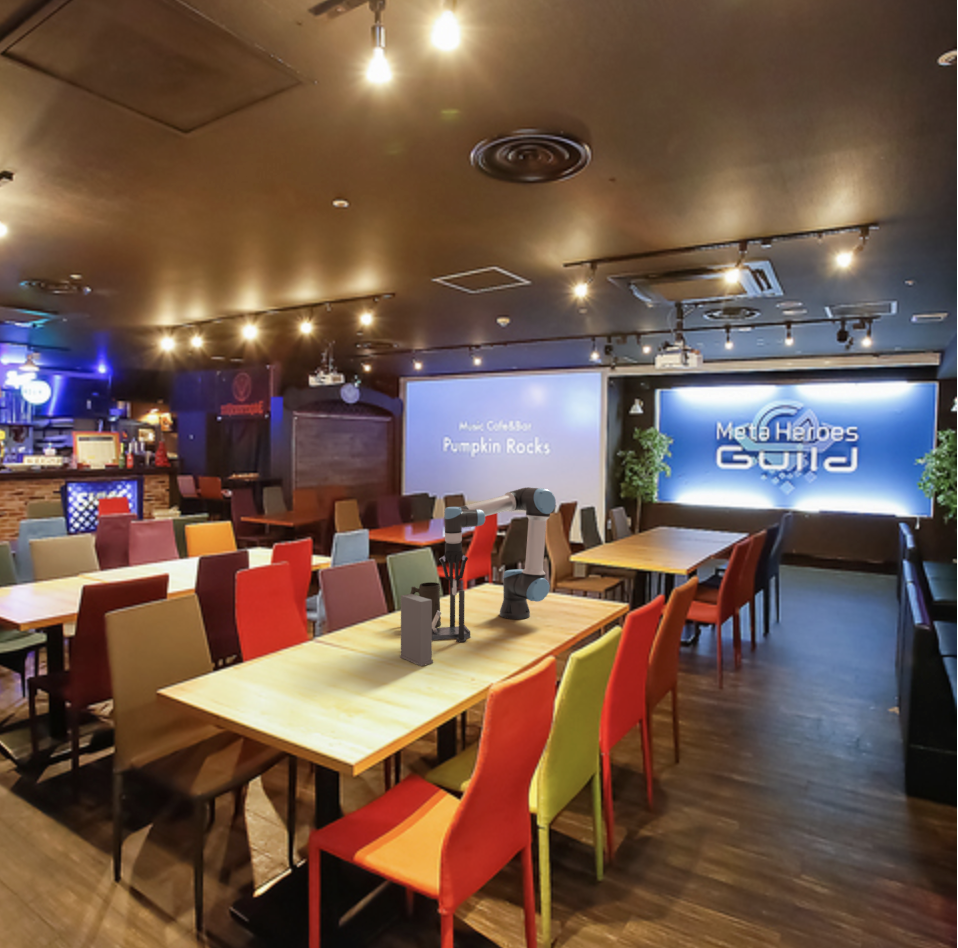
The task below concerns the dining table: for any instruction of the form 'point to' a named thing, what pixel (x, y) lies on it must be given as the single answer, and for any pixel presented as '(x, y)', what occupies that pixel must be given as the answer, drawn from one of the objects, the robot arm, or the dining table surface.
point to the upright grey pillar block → (416, 629)
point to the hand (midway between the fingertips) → (454, 594)
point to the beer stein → (430, 596)
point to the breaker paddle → (436, 618)
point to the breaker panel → (449, 633)
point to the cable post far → (452, 609)
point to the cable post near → (461, 617)
